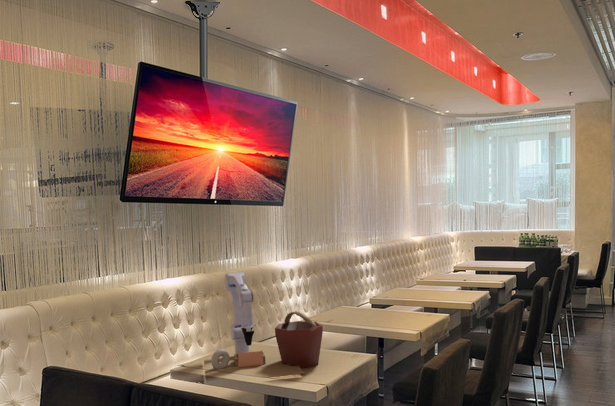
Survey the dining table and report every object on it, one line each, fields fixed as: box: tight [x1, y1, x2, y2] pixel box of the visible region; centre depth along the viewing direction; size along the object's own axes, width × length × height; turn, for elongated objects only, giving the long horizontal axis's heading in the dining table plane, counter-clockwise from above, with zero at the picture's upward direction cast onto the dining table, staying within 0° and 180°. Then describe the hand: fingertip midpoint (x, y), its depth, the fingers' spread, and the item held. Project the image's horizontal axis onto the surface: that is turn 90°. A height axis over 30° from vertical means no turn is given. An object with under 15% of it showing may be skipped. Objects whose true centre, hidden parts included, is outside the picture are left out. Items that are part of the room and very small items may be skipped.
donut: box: [210, 348, 230, 370], centre depth 277 cm, size 10×4×10 cm, turn 137°
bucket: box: [274, 311, 324, 370], centre depth 280 cm, size 24×22×25 cm
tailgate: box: [237, 350, 265, 368], centre depth 277 cm, size 1×12×7 cm, turn 102°
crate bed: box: [233, 352, 266, 368], centre depth 283 cm, size 11×14×5 cm
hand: (248, 343), depth 285 cm, fingers open, 7 cm apart
